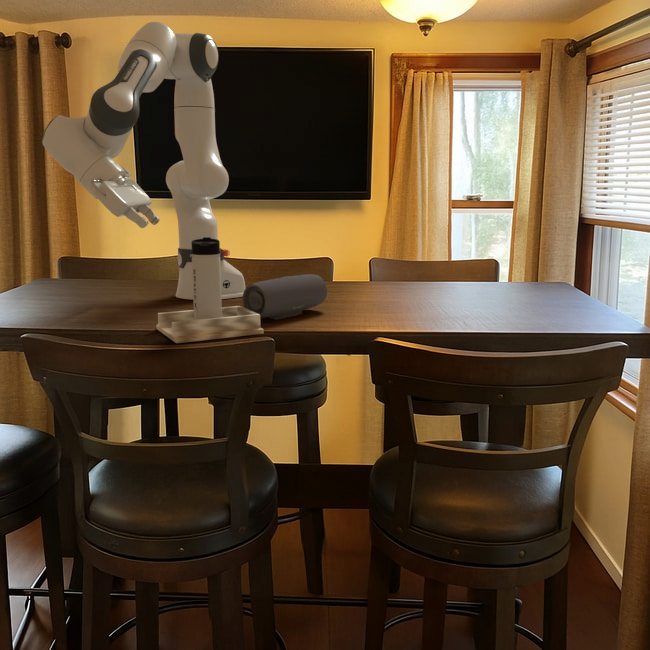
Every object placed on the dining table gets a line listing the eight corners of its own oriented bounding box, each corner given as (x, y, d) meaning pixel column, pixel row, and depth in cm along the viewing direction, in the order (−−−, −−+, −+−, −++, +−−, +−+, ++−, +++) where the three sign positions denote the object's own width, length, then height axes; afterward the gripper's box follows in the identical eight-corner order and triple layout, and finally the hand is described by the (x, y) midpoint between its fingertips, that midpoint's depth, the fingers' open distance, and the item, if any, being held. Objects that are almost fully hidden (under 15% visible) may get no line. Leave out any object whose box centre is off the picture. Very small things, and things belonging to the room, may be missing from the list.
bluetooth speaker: (301, 307, 186) (301, 270, 184) (328, 311, 180) (328, 273, 178) (240, 320, 168) (239, 280, 166) (268, 325, 163) (267, 283, 161)
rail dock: (237, 320, 168) (237, 304, 167) (263, 333, 154) (263, 316, 154) (156, 328, 159) (155, 311, 158) (176, 343, 145) (175, 324, 144)
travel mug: (223, 323, 160) (220, 237, 156) (221, 329, 154) (218, 239, 149) (196, 323, 160) (193, 237, 155) (192, 330, 153) (189, 239, 149)
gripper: (97, 168, 140) (148, 217, 142) (128, 169, 160) (172, 211, 162) (77, 191, 141) (128, 238, 143) (110, 188, 161) (154, 230, 163)
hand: (151, 224), depth 153 cm, fingers open, 8 cm apart
